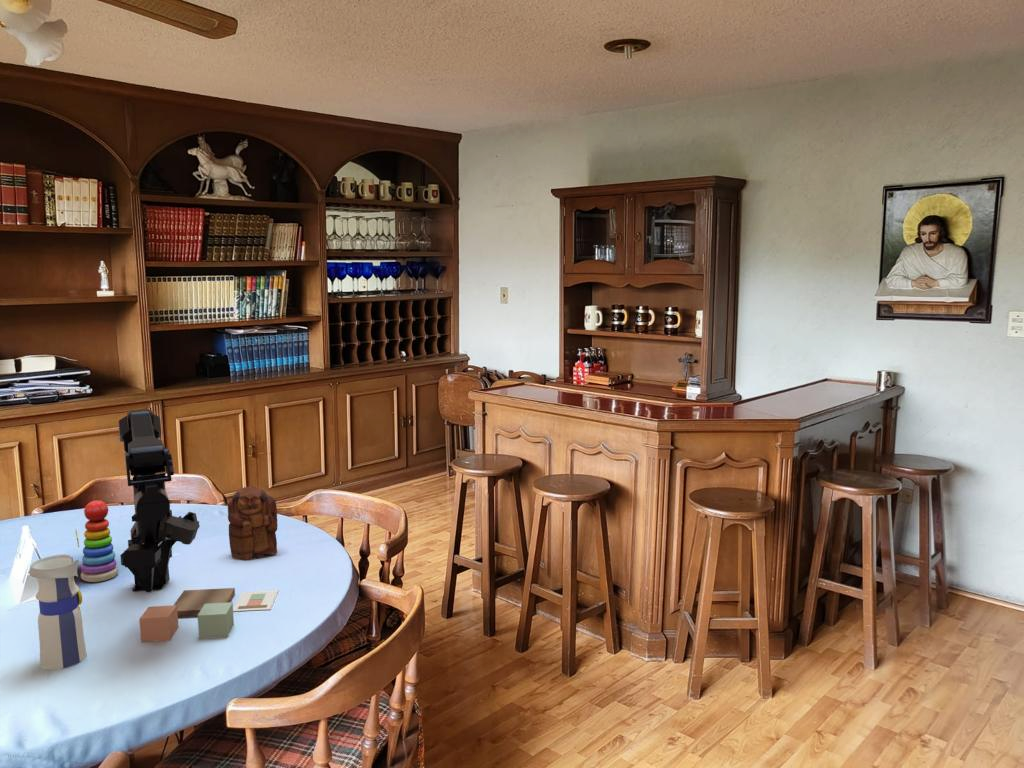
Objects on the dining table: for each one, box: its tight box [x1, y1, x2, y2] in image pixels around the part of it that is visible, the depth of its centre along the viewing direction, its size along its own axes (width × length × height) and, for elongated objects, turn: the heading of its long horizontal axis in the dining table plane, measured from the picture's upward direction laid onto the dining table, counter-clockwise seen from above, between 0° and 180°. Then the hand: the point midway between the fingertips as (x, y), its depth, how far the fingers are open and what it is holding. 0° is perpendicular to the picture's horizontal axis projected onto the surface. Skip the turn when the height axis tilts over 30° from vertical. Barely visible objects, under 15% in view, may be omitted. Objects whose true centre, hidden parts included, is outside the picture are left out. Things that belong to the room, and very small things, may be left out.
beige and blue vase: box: [29, 529, 88, 671], centre depth 147 cm, size 8×9×25 cm
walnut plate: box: [173, 587, 236, 619], centre depth 172 cm, size 11×11×2 cm
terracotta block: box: [138, 604, 180, 643], centre depth 159 cm, size 6×6×5 cm
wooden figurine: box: [227, 486, 278, 561], centre depth 201 cm, size 12×6×18 cm, turn 112°
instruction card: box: [233, 589, 279, 613], centre depth 174 cm, size 8×10×1 cm
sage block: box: [197, 601, 235, 640], centre depth 160 cm, size 6×6×5 cm
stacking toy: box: [80, 499, 119, 583], centre depth 187 cm, size 8×8×19 cm
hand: (156, 582), depth 157 cm, fingers open, 9 cm apart
